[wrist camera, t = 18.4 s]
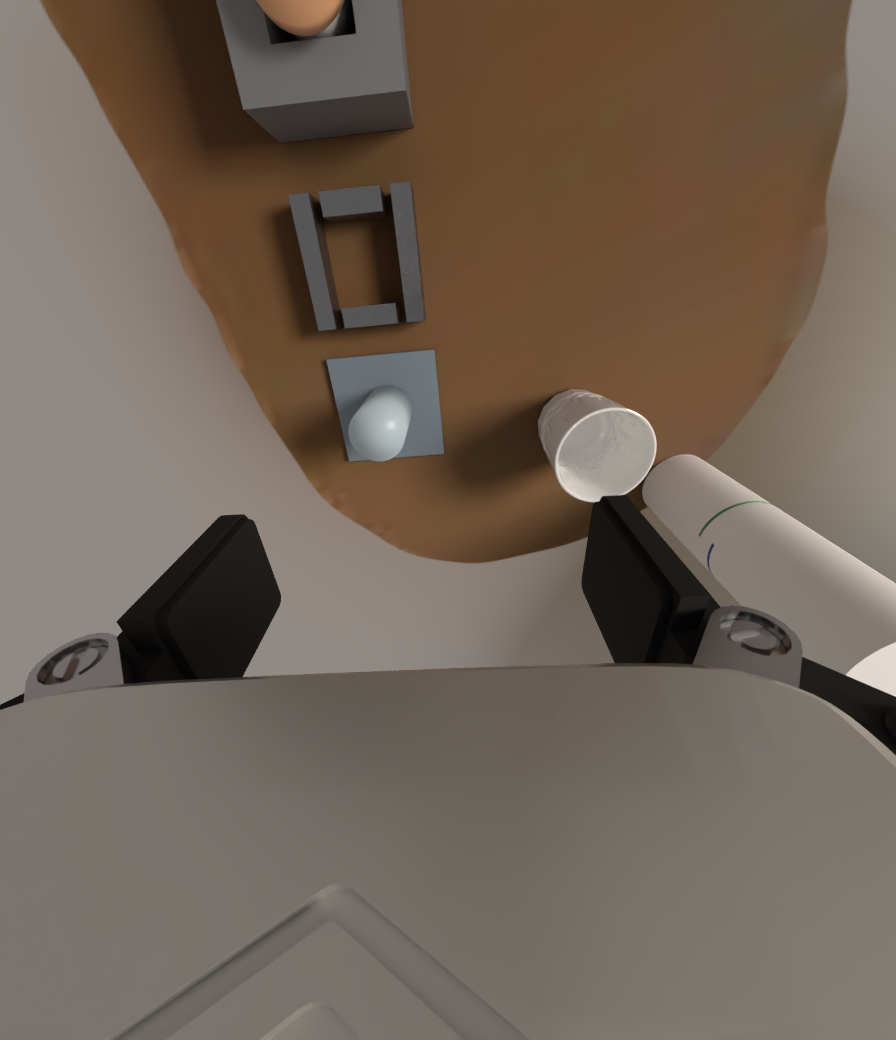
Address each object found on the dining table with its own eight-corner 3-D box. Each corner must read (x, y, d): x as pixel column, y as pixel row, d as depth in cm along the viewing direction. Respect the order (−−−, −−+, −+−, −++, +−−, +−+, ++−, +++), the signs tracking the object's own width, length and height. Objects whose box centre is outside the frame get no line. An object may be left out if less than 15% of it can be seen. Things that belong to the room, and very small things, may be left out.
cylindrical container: (637, 516, 45) (815, 721, 23) (647, 457, 41) (869, 635, 20) (701, 511, 45) (941, 715, 23) (717, 451, 41) (1019, 625, 19)
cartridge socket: (299, 202, 31) (288, 195, 29) (412, 189, 30) (410, 181, 28) (326, 328, 35) (318, 330, 33) (425, 319, 35) (424, 320, 33)
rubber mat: (327, 358, 36) (326, 359, 36) (434, 349, 36) (434, 349, 36) (350, 459, 41) (349, 461, 41) (444, 452, 41) (444, 453, 41)
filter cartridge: (363, 385, 37) (343, 408, 30) (410, 383, 37) (401, 405, 30) (370, 431, 39) (353, 462, 33) (414, 430, 39) (407, 460, 32)
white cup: (588, 467, 42) (625, 512, 33) (519, 448, 41) (539, 489, 32) (624, 395, 38) (676, 424, 30) (549, 371, 37) (581, 394, 28)
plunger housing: (231, -75, 24) (171, -177, 19) (392, -98, 24) (376, -208, 18) (279, 143, 29) (243, 109, 24) (413, 127, 29) (406, 90, 23)
